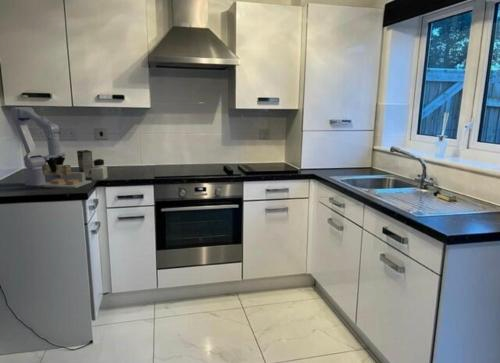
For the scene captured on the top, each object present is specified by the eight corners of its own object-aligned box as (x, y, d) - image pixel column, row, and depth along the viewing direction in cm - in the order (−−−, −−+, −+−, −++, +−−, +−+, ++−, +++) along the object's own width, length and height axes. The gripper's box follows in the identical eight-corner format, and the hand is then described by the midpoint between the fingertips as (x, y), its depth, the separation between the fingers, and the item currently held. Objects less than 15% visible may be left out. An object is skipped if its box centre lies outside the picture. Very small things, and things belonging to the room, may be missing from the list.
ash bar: (42, 174, 200) (41, 165, 199) (47, 173, 204) (46, 164, 203) (66, 175, 198) (65, 166, 197) (71, 174, 202) (70, 165, 201)
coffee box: (78, 175, 236) (76, 150, 233) (89, 174, 241) (86, 149, 237) (84, 177, 230) (81, 151, 226) (94, 176, 234) (92, 151, 231)
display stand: (42, 186, 204) (41, 176, 202) (60, 181, 218) (59, 171, 217) (75, 187, 200) (74, 177, 199) (91, 182, 215) (90, 172, 214)
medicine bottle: (107, 177, 229) (106, 158, 226) (103, 179, 222) (102, 160, 219) (96, 177, 228) (94, 158, 226) (91, 180, 222) (89, 160, 219)
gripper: (51, 148, 190) (54, 173, 193) (69, 145, 204) (71, 169, 207) (39, 147, 191) (42, 173, 194) (58, 144, 205) (60, 168, 208)
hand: (56, 171), depth 201 cm, fingers closed on ash bar, 4 cm apart
